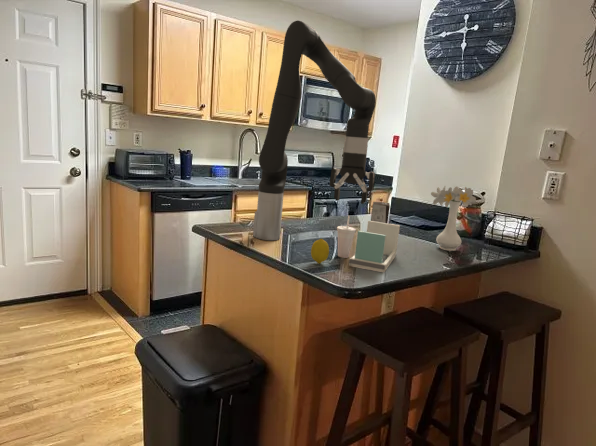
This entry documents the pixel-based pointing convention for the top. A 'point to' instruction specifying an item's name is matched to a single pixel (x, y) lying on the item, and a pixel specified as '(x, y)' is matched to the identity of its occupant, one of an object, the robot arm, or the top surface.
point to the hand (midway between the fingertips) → (349, 201)
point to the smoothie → (345, 239)
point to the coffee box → (380, 212)
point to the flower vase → (451, 214)
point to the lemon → (320, 251)
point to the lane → (389, 247)
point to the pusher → (370, 246)
